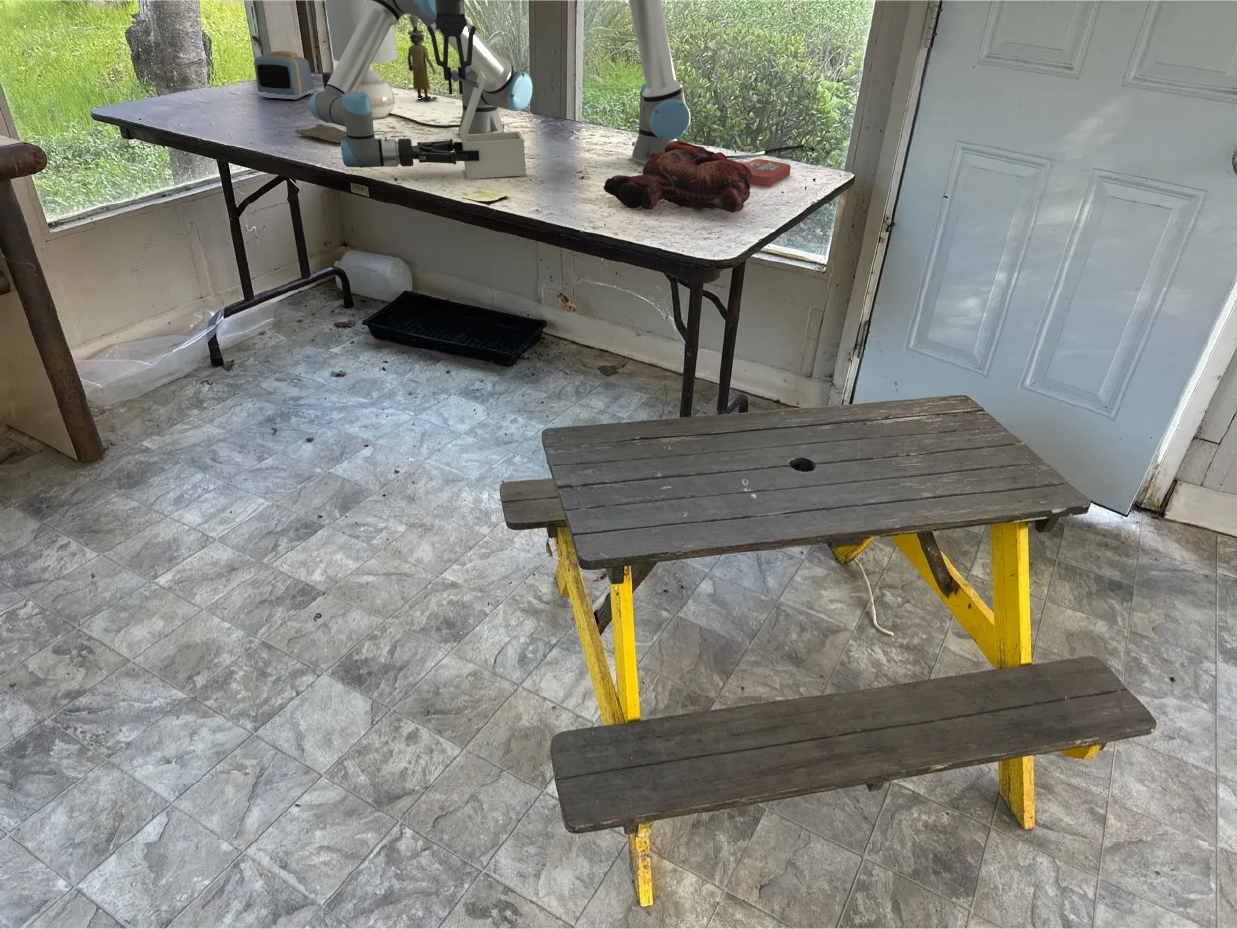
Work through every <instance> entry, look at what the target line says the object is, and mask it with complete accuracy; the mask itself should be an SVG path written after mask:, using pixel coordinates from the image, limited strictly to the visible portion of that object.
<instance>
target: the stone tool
mask: <svg viewBox="0 0 1237 929" xmlns="http://www.w3.org/2000/svg"><path fill="white" fill-rule="evenodd" d="M294 133H296V134H298V135H300V136H306V137H309V138H317V139H320V140H321V141H327V142H332V143H338V144H341V141H342V140H344V139H347V133H346V130H343V129H339V128H338V127H336V126H329V125H326V124H323V123H317V124H315V126H314V127H310V128H307V129H306V128H305V129H303V128H301V129H295V130H294Z"/></svg>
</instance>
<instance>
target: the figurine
mask: <svg viewBox="0 0 1237 929" xmlns="http://www.w3.org/2000/svg"><path fill="white" fill-rule="evenodd" d="M408 18H409V21H410V24H411V26H412V30H411V31H408V32H407V34H408V35H409V39H410V42H411V44H412V45H410V46H409V47H408V50H407V51H408V53H407V65H408V71H409V72H412V76H413V78H412V87H413V90H416V93H417V99H416V101H417V102H421V101H423V102H430V101H434V100H436V99H437V97H436V96H429V95H428V94H429V93H428V90H430V87H431V85H430V81H429V76H428V75H429V74H428V66H427V65H429V68H431V71H432V74H433V76H434V77H435V75H436V72H437V71H436V70H437V69H436V68H435V66H434V64H433V63H432V61H431V59H430V57H429V52H428V48H427V47H426V46H425V45H423V44H424V42H425V35H424V31H423V30H420V29H418V25H419V20H420V19H419V18H418V17H417V16H415V15H410V14H409V16H408ZM422 91H423V93H424V95H422ZM423 96H425V97H423ZM422 97H423V98H422ZM431 97H432V98H431ZM418 98H421V99H418Z"/></svg>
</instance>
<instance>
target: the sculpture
mask: <svg viewBox="0 0 1237 929" xmlns="http://www.w3.org/2000/svg"><path fill="white" fill-rule="evenodd" d="M726 156H727V155H726V154H724V153H723V152H720V151H719V152H717V151H716V152H714V151H711V150H708V149H706V148H705V147H704V146H702V145H695V144H692V143H689V142H686V141H684V140H680V139H677V141H673V142H671V143H669V144H668V145H667V146H666V147H665V153H664V152H660V153H658V152H657V153H653V154H652V155H651V157H650V158H651V159H650V160H648V162H647V163H646V165H645V166H643V168H642V174H638V175H621V174H617V175H613V176H612V177H608V178H607V179H606V180H605V181H604V184H603V185H604V186H603V190H604V192H605V193H606V194H608V195H609V196H610V195H611V196H613V197H615V198H616V199H617V200H618V201H619V202H620V203H621V204H622V205H623V206H625V207H626V208H628V209H636V208H637V209H638V208H641V209H643V210H647V211H649V210H654V208H655V207H657V205H658V203H659V202H660V201H665V202H668V203H669V204H671V203H672V204H674V205H675V206H678V207H681V208H689V209H692V210H696V211H704V209H707V210H715V209H717V210H721V211H725V212H728V213H732V214H734V213H740V212H741V211H743V210H744V207H745V205H744V204H745V203H746V202H747V201H748V200H749V198H750V196H751V190H750V189H751V184H750V180H751V178H752V173H751V171H750V169H749V168H747V167H746V166H745V165H744V164H742V163H740V162H741V161H737V160H733V159H731V158H726Z"/></svg>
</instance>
